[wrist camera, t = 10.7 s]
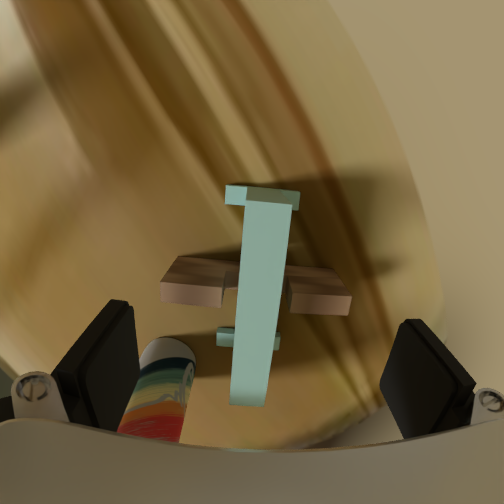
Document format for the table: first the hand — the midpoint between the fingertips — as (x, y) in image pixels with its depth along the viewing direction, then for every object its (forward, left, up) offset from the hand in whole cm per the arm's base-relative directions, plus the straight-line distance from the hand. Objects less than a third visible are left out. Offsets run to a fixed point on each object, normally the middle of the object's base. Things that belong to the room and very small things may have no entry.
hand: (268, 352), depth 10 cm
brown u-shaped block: (+4, 0, -18) cm, 18 cm away
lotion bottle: (+14, -8, -18) cm, 24 cm away
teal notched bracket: (+4, 0, -18) cm, 18 cm away
